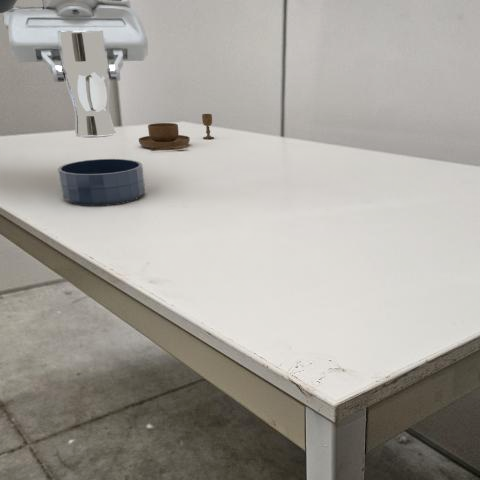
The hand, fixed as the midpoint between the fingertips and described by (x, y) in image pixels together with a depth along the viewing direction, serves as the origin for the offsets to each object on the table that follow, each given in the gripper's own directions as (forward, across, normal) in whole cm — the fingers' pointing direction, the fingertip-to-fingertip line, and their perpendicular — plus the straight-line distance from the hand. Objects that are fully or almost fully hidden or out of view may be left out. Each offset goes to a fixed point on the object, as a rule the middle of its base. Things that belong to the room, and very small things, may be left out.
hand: (87, 78), depth 94 cm
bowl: (+13, 0, +13) cm, 18 cm away
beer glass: (+6, 0, +6) cm, 9 cm away
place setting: (-21, +22, +47) cm, 56 cm away
